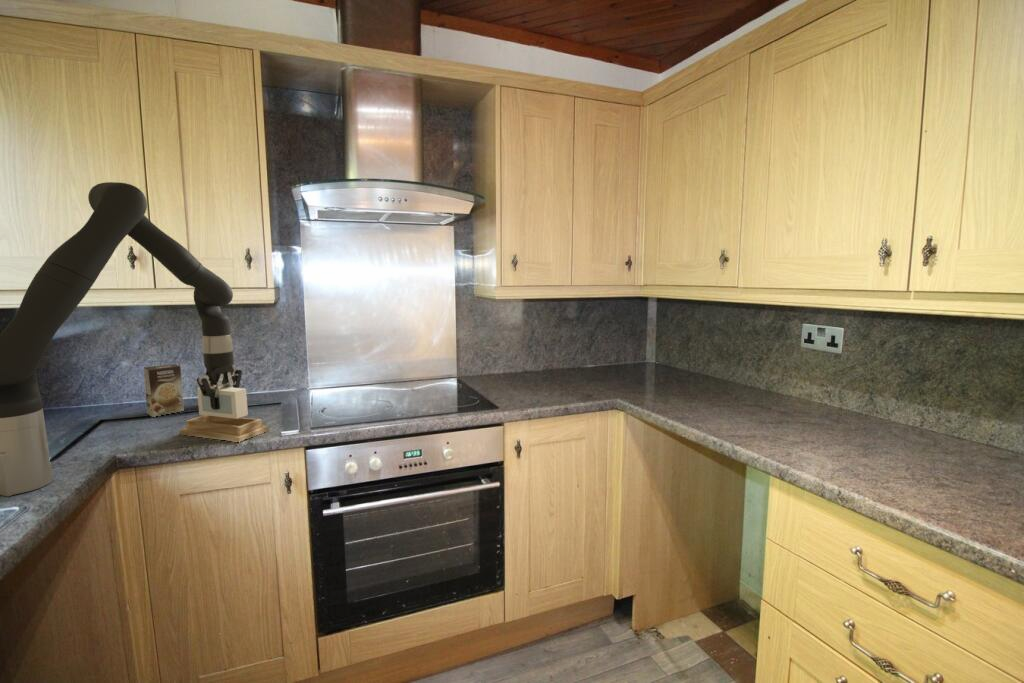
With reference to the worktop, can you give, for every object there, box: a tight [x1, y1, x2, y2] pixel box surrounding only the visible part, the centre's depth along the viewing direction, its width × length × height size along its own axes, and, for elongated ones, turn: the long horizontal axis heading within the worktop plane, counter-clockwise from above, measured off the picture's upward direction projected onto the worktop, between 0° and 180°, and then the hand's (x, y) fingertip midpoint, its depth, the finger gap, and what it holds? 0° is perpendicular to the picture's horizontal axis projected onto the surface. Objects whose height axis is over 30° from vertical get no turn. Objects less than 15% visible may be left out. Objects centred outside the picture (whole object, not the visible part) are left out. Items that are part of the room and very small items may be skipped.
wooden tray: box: [179, 415, 270, 444], centre depth 146 cm, size 11×22×4 cm, turn 73°
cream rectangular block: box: [196, 386, 249, 419], centre depth 145 cm, size 4×14×8 cm, turn 73°
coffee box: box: [143, 363, 185, 418], centre depth 165 cm, size 9×6×16 cm
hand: (222, 406), depth 145 cm, fingers closed on cream rectangular block, 4 cm apart
